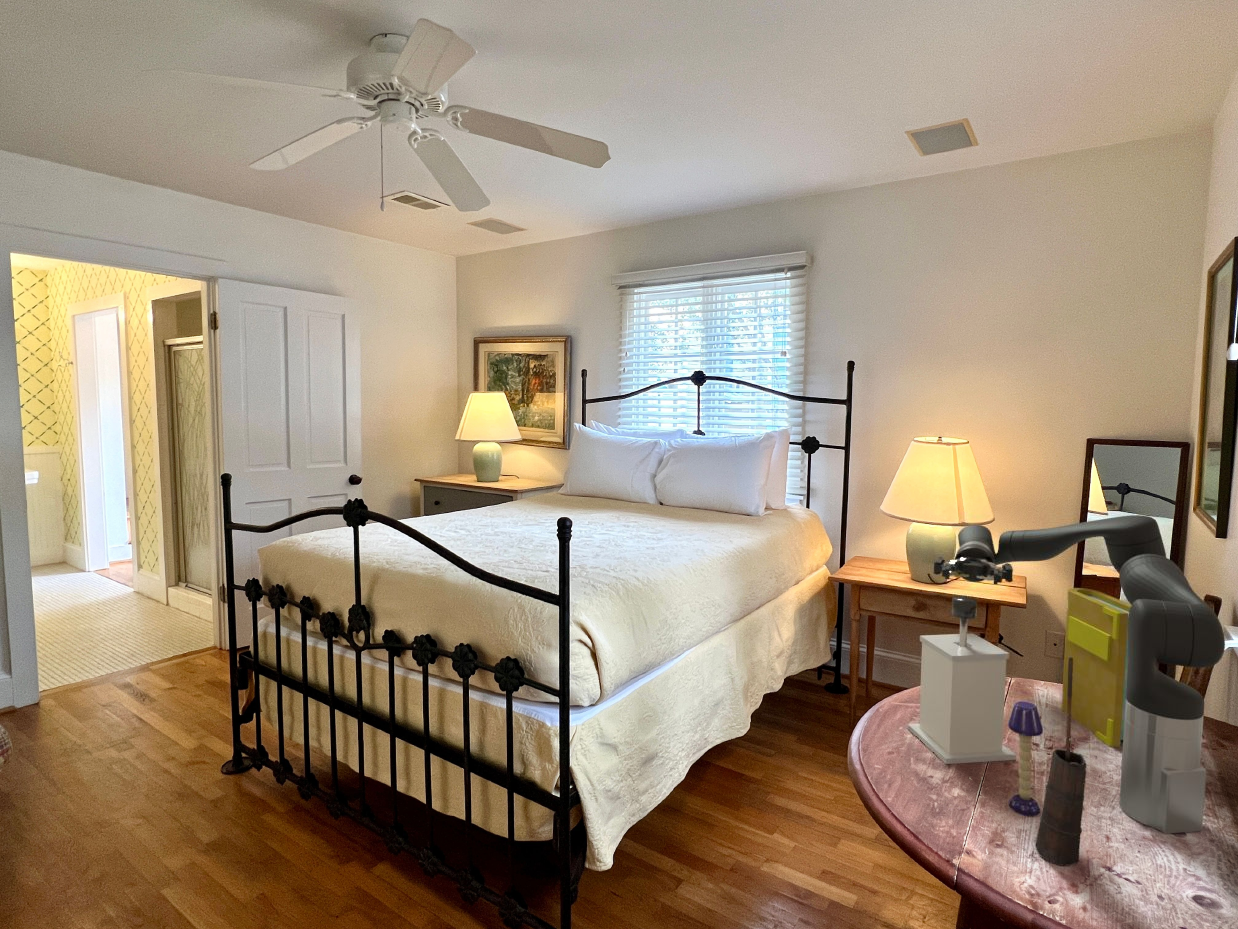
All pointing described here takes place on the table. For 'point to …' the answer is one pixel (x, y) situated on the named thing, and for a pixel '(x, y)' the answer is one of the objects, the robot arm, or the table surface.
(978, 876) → the table surface
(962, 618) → the plunger
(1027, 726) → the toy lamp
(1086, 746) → the table surface
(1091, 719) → the book
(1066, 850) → the butter churn
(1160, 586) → the robot arm
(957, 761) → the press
